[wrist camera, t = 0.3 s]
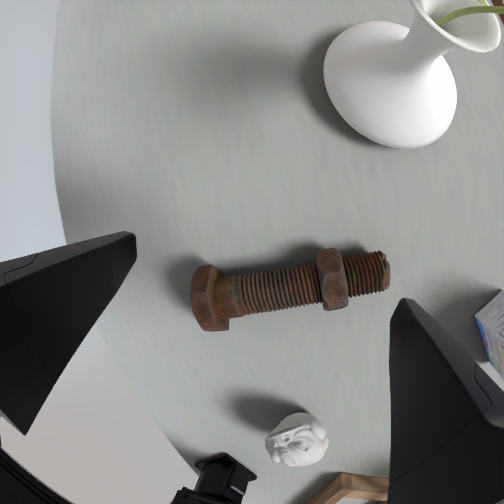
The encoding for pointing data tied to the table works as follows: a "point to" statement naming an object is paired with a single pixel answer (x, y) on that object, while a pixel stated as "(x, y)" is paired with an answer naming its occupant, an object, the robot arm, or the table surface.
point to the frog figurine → (297, 440)
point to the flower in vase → (406, 70)
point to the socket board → (352, 489)
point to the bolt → (286, 287)
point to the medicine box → (493, 331)
